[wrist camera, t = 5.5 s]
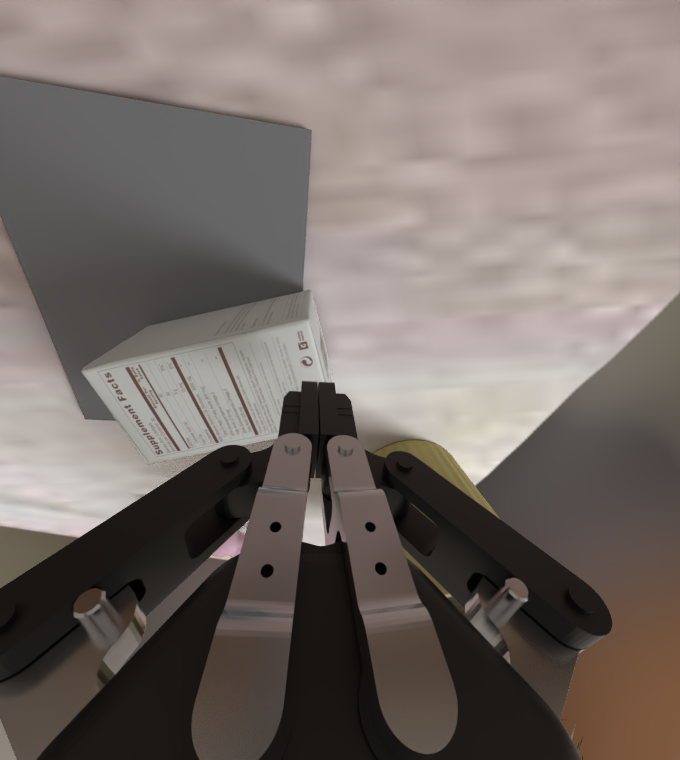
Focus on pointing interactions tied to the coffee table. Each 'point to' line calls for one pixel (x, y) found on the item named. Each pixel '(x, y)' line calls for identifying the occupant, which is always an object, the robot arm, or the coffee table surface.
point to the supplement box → (211, 376)
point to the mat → (144, 214)
